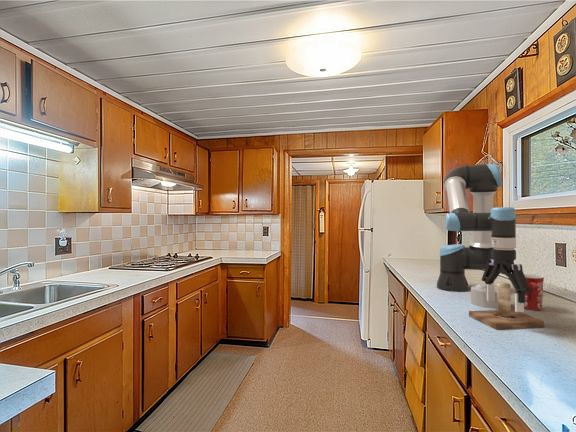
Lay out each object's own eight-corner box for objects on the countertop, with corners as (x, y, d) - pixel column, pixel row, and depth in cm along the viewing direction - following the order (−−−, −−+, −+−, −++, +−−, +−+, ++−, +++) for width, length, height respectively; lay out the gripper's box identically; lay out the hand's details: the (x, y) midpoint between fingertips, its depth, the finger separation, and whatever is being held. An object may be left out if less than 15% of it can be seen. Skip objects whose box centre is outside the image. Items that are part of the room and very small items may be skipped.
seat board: (469, 316, 121) (468, 311, 121) (511, 314, 123) (511, 309, 123) (495, 329, 108) (495, 323, 108) (543, 326, 109) (543, 321, 109)
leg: (495, 319, 117) (494, 282, 117) (505, 319, 117) (504, 282, 117) (503, 323, 113) (502, 285, 113) (513, 322, 113) (513, 284, 113)
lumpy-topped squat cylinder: (507, 310, 128) (507, 289, 128) (471, 306, 135) (470, 286, 135) (505, 303, 137) (504, 284, 137) (470, 300, 144) (470, 281, 144)
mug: (516, 303, 137) (515, 273, 137) (542, 306, 132) (541, 274, 132) (519, 311, 126) (519, 278, 126) (548, 315, 121) (548, 280, 121)
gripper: (471, 245, 127) (471, 297, 127) (522, 253, 102) (523, 317, 102) (488, 245, 128) (489, 296, 128) (543, 252, 103) (544, 316, 103)
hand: (504, 305), depth 115 cm, fingers open, 13 cm apart
